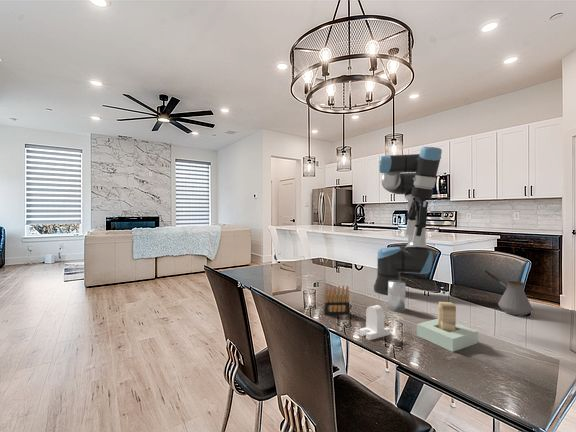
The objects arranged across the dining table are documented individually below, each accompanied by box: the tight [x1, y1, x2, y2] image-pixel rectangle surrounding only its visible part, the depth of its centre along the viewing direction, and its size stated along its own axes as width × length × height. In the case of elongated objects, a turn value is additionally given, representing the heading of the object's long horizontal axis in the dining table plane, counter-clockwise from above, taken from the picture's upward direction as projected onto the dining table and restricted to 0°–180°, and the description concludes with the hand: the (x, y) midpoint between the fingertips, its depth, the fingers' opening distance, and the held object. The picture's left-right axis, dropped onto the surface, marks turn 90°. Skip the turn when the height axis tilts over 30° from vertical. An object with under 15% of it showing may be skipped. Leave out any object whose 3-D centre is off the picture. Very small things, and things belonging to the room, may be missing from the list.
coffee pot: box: [483, 269, 533, 317], centre depth 128 cm, size 21×12×15 cm, turn 11°
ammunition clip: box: [323, 284, 351, 316], centre depth 122 cm, size 11×2×12 cm, turn 93°
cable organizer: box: [358, 304, 391, 341], centre depth 102 cm, size 5×10×10 cm, turn 119°
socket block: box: [416, 318, 479, 353], centre depth 98 cm, size 13×13×4 cm
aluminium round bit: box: [387, 280, 406, 313], centre depth 128 cm, size 7×7×12 cm
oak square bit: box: [438, 301, 457, 332], centre depth 98 cm, size 4×4×12 cm
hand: (411, 239), depth 119 cm, fingers open, 13 cm apart
